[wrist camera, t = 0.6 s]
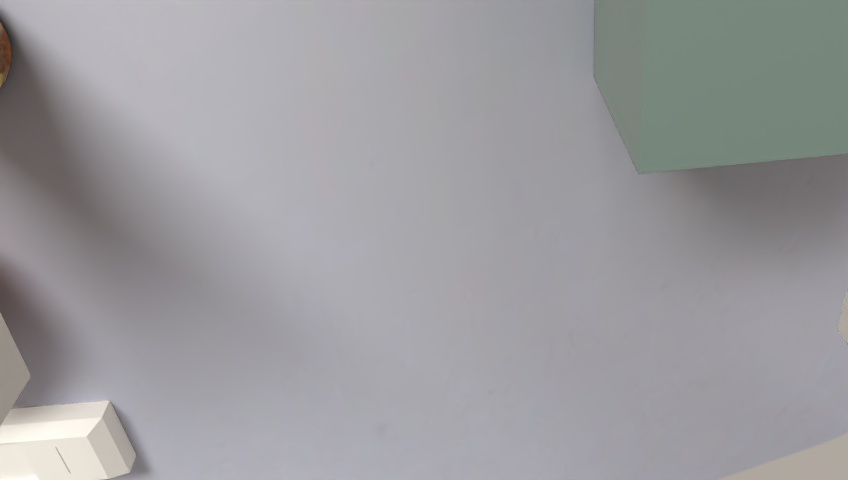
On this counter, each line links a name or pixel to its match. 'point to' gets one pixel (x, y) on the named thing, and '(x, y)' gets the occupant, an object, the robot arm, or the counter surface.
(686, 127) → the sage green cube
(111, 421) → the soap bar
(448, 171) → the counter surface
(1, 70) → the sauce bottle
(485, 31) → the counter surface
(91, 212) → the counter surface
